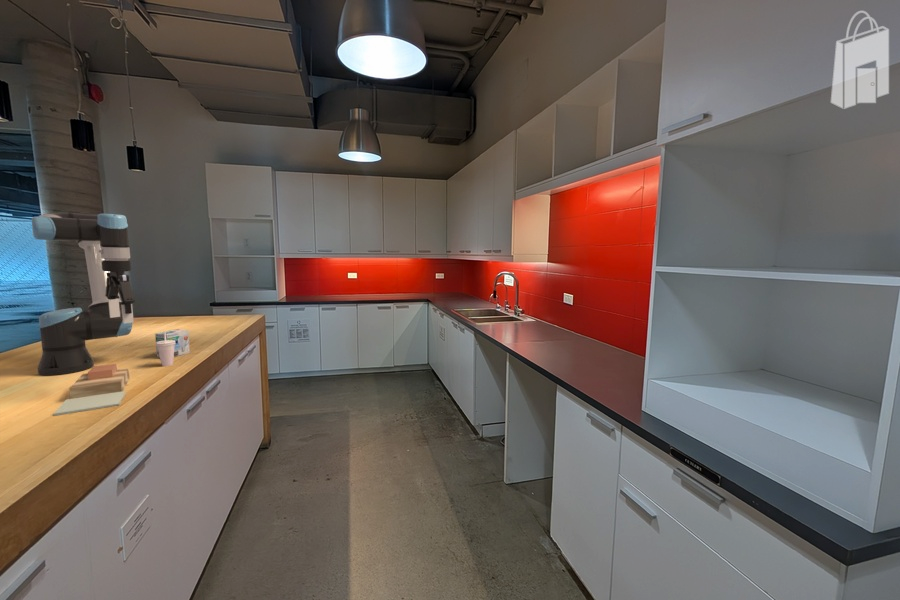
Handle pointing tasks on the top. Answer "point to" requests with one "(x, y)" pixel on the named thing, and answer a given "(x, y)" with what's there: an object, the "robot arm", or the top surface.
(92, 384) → the deck
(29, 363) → the top surface
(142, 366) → the top surface
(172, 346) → the smoothie
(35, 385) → the top surface
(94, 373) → the tile
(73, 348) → the robot arm
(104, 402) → the mat
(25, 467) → the top surface
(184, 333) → the light bulb box
